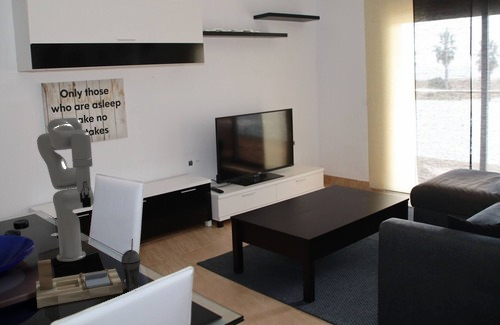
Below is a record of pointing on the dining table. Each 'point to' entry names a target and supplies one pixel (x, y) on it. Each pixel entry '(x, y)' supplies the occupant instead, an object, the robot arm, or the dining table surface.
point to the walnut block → (45, 274)
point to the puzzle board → (76, 289)
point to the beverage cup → (131, 268)
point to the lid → (97, 279)
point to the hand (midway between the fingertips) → (85, 204)
